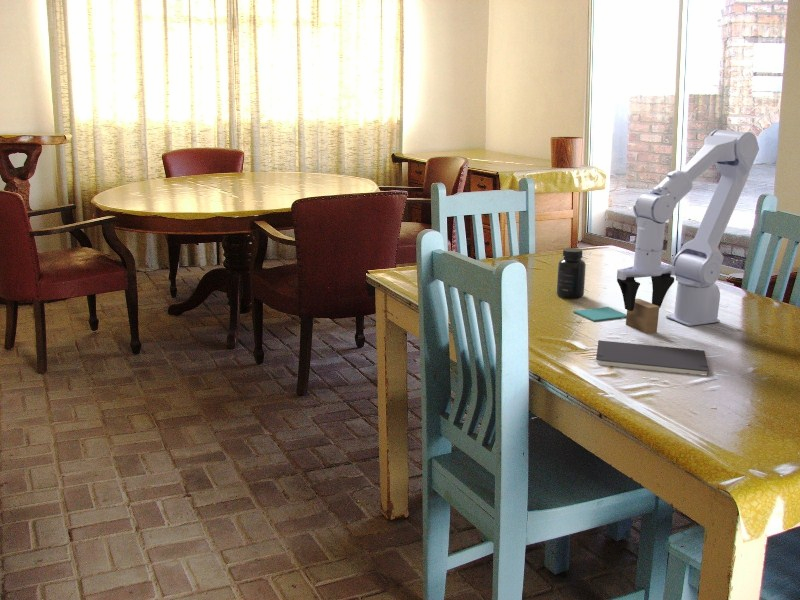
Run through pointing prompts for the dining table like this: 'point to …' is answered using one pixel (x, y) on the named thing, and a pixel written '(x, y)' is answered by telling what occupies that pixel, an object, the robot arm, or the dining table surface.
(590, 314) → the teal mat
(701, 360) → the notebook
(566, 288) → the supplement bottle
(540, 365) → the dining table surface
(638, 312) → the brown block
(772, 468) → the dining table surface
